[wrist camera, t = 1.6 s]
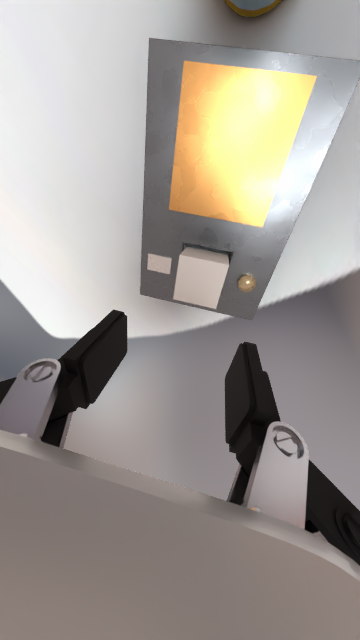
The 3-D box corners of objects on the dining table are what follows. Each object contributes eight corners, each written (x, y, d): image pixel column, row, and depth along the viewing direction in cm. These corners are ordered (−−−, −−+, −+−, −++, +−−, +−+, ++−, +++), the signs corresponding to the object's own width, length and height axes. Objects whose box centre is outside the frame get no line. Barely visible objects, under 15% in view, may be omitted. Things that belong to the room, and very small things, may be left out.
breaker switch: (227, 254, 22) (229, 265, 18) (217, 291, 25) (215, 309, 20) (187, 246, 22) (179, 254, 18) (181, 283, 25) (173, 299, 21)
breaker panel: (343, 85, 15) (375, 53, 12) (249, 310, 27) (252, 323, 24) (160, 63, 17) (145, 29, 13) (147, 286, 29) (137, 296, 25)
